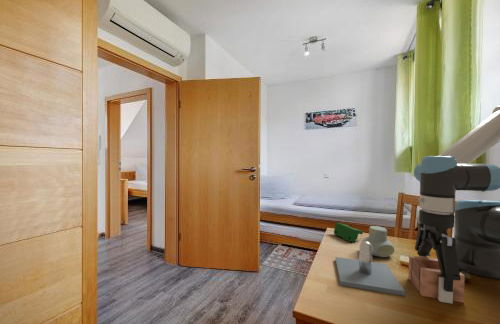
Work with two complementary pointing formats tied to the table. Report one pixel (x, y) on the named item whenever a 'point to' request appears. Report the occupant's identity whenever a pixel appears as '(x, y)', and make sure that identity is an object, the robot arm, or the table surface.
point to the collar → (431, 278)
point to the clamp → (347, 232)
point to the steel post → (365, 258)
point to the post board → (368, 277)
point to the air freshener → (379, 242)
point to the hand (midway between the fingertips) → (433, 288)
